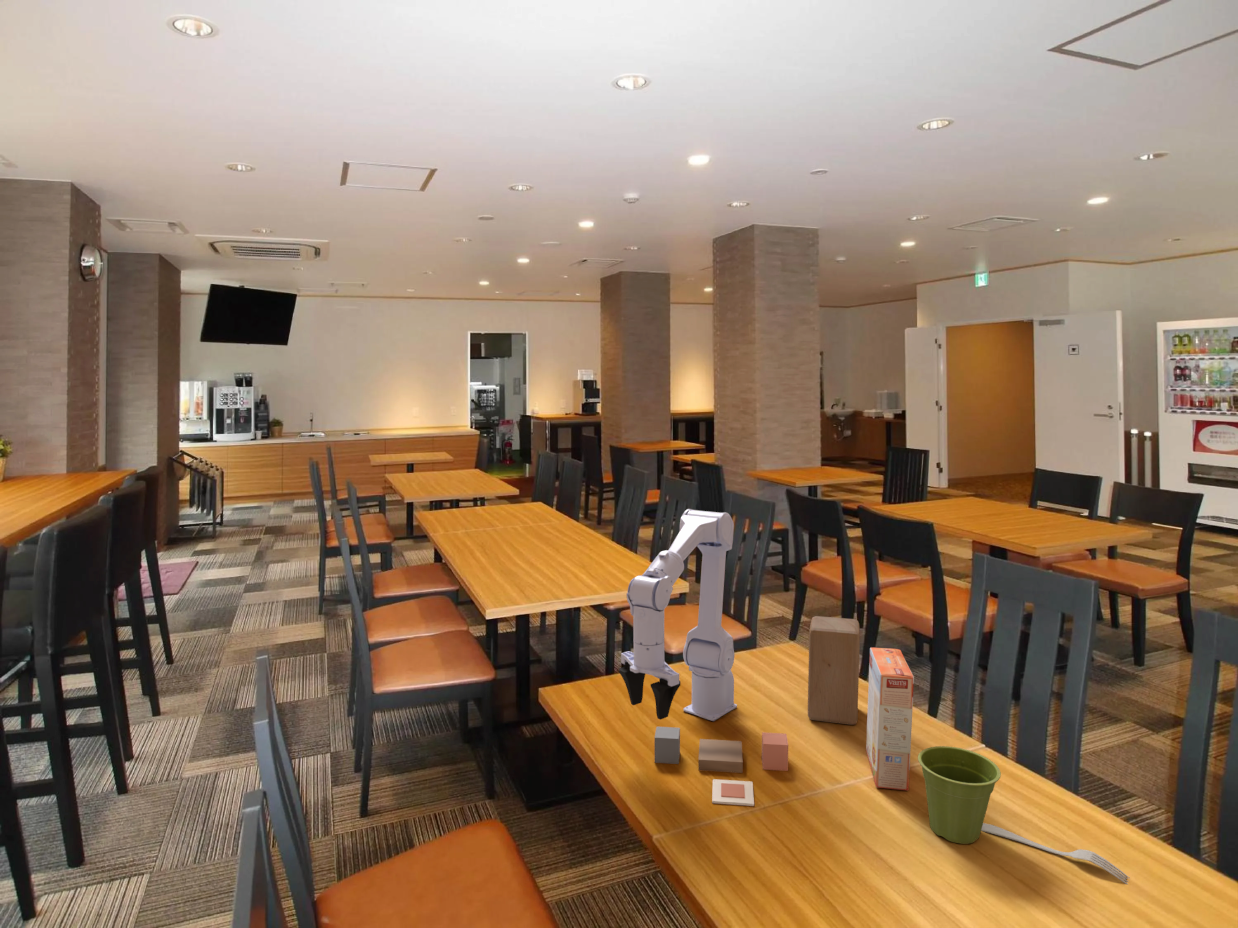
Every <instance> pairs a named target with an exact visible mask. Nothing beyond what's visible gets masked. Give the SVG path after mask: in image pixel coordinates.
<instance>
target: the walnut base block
mask: <svg viewBox="0 0 1238 928" xmlns="http://www.w3.org/2000/svg"><path fill="white" fill-rule="evenodd" d="M742 743H743V741H741V740H725V739H711V738H709V739H707V738H706V739H705V738H699V743H698V744H699V747H698V767H697V768H698V771H705V772H706V771H707V772H722V773H723V772H724V773H725V772H726V773H738V774H739V773H740V774H743V769H744V767H743V763H744V761H743V760H744V759H743V744H742Z"/></svg>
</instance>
